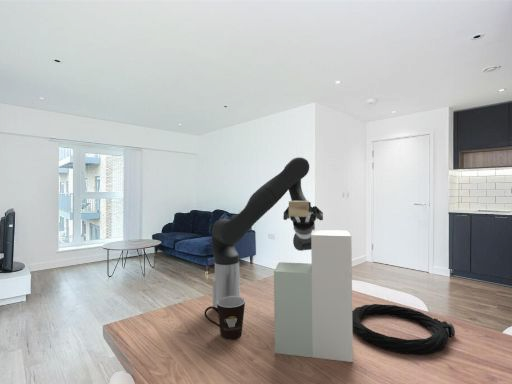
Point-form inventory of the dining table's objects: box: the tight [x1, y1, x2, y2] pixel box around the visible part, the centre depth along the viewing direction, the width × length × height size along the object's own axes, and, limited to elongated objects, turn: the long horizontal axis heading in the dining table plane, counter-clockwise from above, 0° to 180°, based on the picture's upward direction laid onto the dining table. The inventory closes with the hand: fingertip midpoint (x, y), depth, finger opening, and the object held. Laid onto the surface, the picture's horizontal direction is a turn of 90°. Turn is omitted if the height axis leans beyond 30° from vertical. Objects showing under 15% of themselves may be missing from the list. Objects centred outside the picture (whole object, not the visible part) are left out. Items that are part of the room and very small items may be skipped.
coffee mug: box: [204, 296, 246, 341], centre depth 85 cm, size 12×9×10 cm
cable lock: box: [352, 303, 456, 355], centre depth 86 cm, size 28×4×30 cm
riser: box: [273, 229, 354, 363], centre depth 77 cm, size 10×20×32 cm, turn 77°
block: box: [288, 200, 309, 217], centre depth 82 cm, size 19×5×4 cm, turn 167°
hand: (301, 203), depth 85 cm, fingers closed on block, 3 cm apart
